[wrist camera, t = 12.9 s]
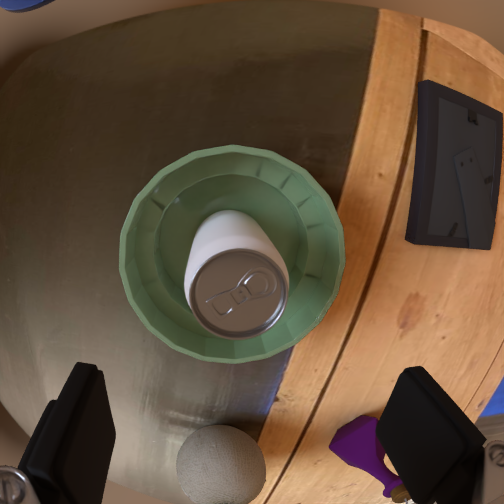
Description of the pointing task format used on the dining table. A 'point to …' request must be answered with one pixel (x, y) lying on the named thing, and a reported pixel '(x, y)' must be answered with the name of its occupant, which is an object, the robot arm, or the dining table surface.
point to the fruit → (221, 466)
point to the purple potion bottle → (367, 455)
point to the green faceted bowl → (269, 219)
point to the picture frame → (455, 170)
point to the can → (235, 277)
